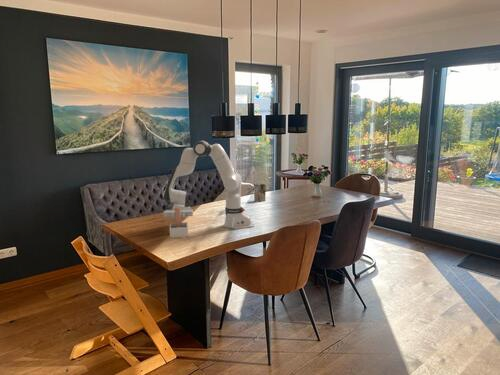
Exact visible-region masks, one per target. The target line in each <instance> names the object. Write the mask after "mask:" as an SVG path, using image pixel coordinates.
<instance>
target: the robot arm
mask: <svg viewBox="0 0 500 375" xmlns="http://www.w3.org/2000/svg"><path fill="white" fill-rule="evenodd" d="M205 156H209V157H211V159H212V161H213V163H214V165H215V167H216V169H217V171H218V174H219V176H220V179H221V181H222V183H223V187H224V189H225V190H226V194H225V207H224V208H225V209H224V214H225V218H224V224H223V226H224V227H225V228H227V229H232V230H239V229H246V228H253V227H255V223H254V222H253V221H252V220H251V217H250V216H249V215H248V214H247V213H246V212H245V211H246V210H245V208H244V207H243V206H242V204H241V200H242V197H241V196H242V185H243V184H242V182H243V180H242V179H243V178H242V176H241V174H240V173H237V172H235V170H234V166H233V163H232V162H231V159H230V158H229V155H228V154H227V152H226V151H225V149H224V148H223V147H222V145H221V144H219V143H214V144H210V143H209V142H207V141H206V140H199V141H196V142H195V143H194V145H193V146H192V147H186V148H184V149H183V151H182V154H181V157H180V161H179V164H178V165H177V166H176V167H174V169H173V170H172V173H171V175H170V177H169V180H168V182H167V184H166V187H165V189H164V191H163V193H162V199H163V200H164V201H165V202H166V203H173V205H172V208H171V209H166V210H164V211H163V212H162V213H163V217H164V218H173V219H175V208H177V207H180V208H181V218H183V217H184V218H185V217H193V216H194V215H193V214H194V213H193V212H194V211H193V209H192V208H191V206H188V203H189V193H188V192H187V191H185V190H180V189H179V190H178V189H174V188H173V186H174V183H175V181H176V179H177V178H178V177H182V176H188V175H190V174H192V173H193V172H194V170H195V167H196V162H197V158H198V157H205Z"/></svg>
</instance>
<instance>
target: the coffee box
mask: <svg viewBox="0 0 500 375" xmlns="http://www.w3.org/2000/svg"><path fill="white" fill-rule="evenodd" d="M253 199H254V200H253V202H256V203H261V202H266V184H264V183H258V184H257V183H256V184H254V185H253Z"/></svg>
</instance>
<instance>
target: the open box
mask: <svg viewBox="0 0 500 375" xmlns="http://www.w3.org/2000/svg"><path fill="white" fill-rule="evenodd" d="M188 227H189V226H188V222H181V227H179V228H176V225H175V222H171V223H169V238H170V239H171V238H173V239H174V238H175V239H176V238H189V231H188V229H189V228H188Z"/></svg>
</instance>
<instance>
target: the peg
mask: <svg viewBox="0 0 500 375" xmlns="http://www.w3.org/2000/svg"><path fill="white" fill-rule="evenodd" d="M174 220H175V221H174V223H175V225H176V228H179V227H181V223H182V217H181V208H180V207H177V208H175V218H174Z"/></svg>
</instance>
